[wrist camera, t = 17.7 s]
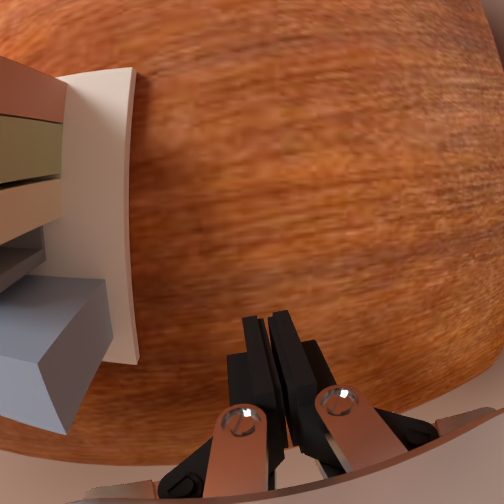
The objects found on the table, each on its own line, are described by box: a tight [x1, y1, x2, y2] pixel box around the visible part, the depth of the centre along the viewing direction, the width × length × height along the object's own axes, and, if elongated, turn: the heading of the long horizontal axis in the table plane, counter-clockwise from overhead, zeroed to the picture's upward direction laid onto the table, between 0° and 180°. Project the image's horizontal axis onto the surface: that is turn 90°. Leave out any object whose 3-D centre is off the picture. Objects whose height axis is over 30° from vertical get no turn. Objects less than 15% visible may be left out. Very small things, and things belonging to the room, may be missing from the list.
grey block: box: [0, 275, 114, 435], centre depth 13 cm, size 4×11×8 cm, turn 87°
